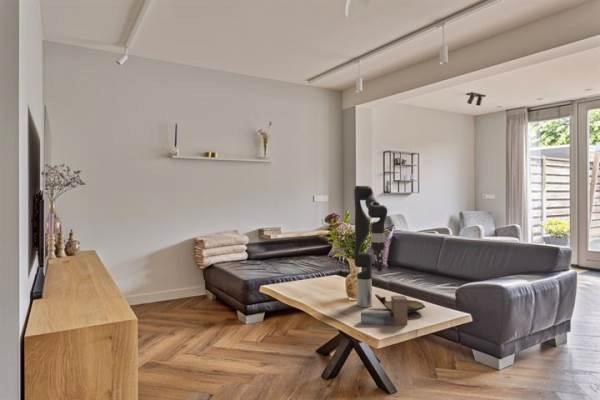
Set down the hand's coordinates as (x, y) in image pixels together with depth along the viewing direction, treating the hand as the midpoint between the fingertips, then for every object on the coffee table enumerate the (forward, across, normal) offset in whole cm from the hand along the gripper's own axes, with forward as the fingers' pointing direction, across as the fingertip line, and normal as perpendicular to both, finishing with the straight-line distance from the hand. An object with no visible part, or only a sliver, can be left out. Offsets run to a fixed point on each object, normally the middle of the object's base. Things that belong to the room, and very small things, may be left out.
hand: (378, 269), depth 221 cm
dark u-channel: (+28, +7, +7) cm, 30 cm away
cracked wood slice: (+28, -15, +16) cm, 36 cm away
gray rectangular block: (+28, +7, -3) cm, 29 cm away
